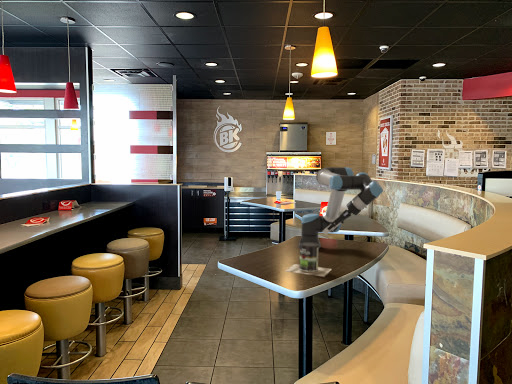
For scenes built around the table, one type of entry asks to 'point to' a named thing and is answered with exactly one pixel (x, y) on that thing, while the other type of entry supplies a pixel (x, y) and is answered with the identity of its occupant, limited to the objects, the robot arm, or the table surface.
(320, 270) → the birch board
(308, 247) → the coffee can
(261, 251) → the table surface
